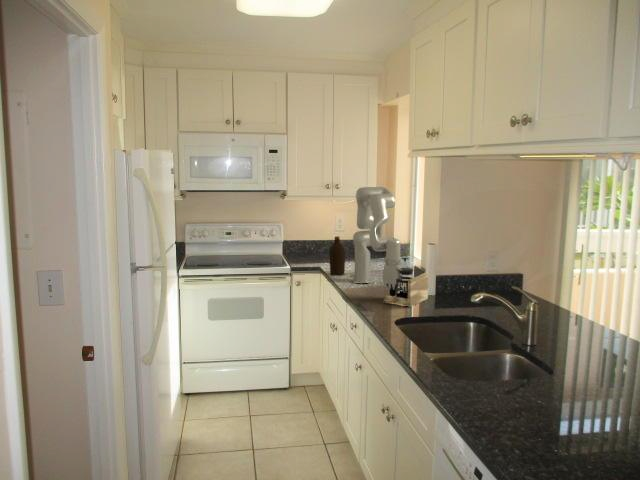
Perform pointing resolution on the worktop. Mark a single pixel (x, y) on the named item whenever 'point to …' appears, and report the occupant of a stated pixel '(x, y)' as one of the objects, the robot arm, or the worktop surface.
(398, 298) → the shelf bay
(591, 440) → the worktop surface
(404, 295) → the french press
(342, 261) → the olive oil
